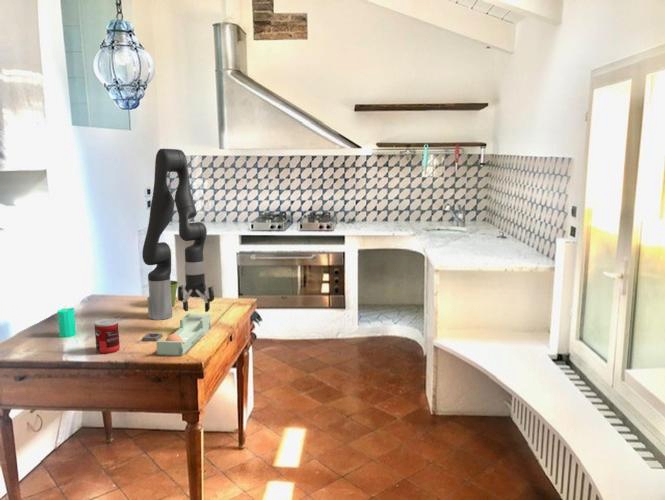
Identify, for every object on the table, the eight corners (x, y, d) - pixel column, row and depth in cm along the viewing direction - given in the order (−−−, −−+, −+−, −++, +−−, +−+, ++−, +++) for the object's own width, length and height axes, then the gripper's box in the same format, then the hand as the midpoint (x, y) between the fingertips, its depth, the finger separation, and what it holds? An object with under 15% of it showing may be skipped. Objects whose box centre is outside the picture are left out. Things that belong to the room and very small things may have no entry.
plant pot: (162, 310, 243) (160, 287, 241) (149, 306, 251) (148, 283, 249) (184, 305, 252) (183, 282, 250) (171, 301, 260) (170, 279, 258)
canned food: (100, 347, 196) (98, 318, 194) (122, 346, 196) (120, 318, 194) (93, 354, 188) (90, 325, 186) (116, 353, 189) (114, 324, 187)
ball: (170, 339, 195) (166, 353, 191) (165, 330, 191) (161, 344, 187) (186, 339, 195) (182, 354, 191) (181, 331, 190) (177, 345, 186)
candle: (79, 333, 211) (77, 304, 209) (67, 338, 206) (65, 308, 204) (68, 332, 213) (65, 303, 211) (56, 336, 208) (53, 307, 206)
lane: (157, 355, 187) (156, 338, 186) (189, 327, 218) (188, 313, 217) (182, 356, 186) (181, 339, 185) (211, 328, 217) (210, 313, 216)
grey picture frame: (142, 340, 202) (142, 337, 202) (148, 336, 208) (148, 333, 208) (156, 341, 202) (156, 338, 202) (162, 336, 207) (162, 333, 207)
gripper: (174, 273, 208) (176, 313, 211) (209, 274, 206) (210, 314, 209) (181, 269, 215) (183, 308, 218) (215, 270, 214) (216, 309, 216)
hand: (196, 311), depth 213 cm, fingers open, 8 cm apart
